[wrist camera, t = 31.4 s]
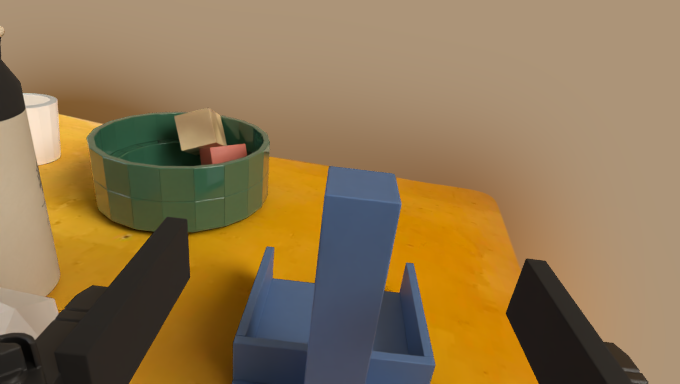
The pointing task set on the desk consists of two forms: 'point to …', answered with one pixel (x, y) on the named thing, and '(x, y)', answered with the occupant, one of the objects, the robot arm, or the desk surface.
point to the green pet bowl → (174, 174)
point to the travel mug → (22, 200)
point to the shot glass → (43, 126)
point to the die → (25, 312)
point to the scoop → (339, 301)
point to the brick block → (222, 154)
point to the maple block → (200, 130)
